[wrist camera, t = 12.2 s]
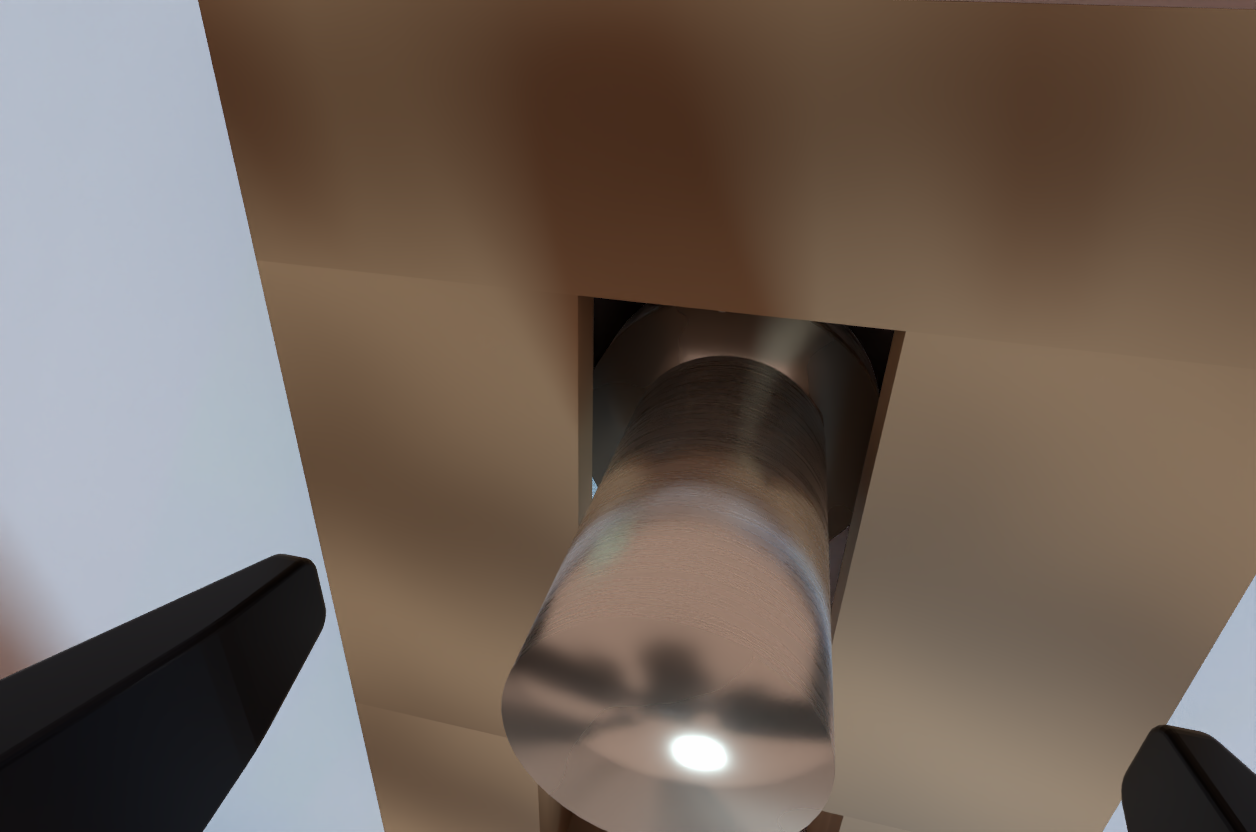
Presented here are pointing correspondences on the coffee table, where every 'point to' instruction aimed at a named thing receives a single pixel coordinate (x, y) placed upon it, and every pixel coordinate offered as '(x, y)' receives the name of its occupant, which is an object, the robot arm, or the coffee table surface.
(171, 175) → the coffee table surface
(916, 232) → the keyhole plate
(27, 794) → the robot arm
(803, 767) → the steel peg
